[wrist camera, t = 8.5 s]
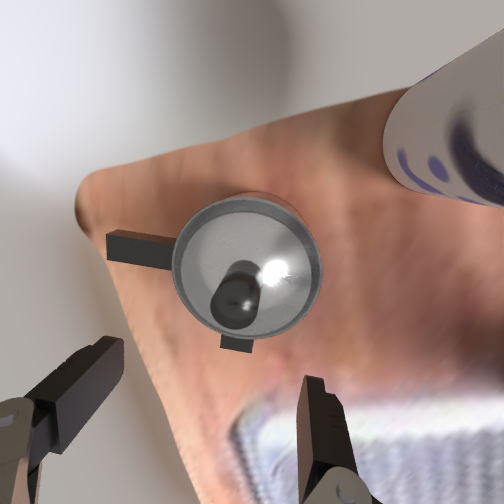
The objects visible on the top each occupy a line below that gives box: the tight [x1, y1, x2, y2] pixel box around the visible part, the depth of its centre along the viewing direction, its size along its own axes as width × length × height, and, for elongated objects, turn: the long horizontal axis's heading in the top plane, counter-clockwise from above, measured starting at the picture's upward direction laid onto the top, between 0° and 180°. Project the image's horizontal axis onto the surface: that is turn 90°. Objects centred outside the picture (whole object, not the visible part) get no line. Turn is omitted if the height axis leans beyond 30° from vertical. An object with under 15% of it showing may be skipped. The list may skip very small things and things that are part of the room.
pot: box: [106, 192, 322, 353], centre depth 27 cm, size 19×14×7 cm
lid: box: [181, 211, 311, 335], centre depth 20 cm, size 10×10×6 cm
